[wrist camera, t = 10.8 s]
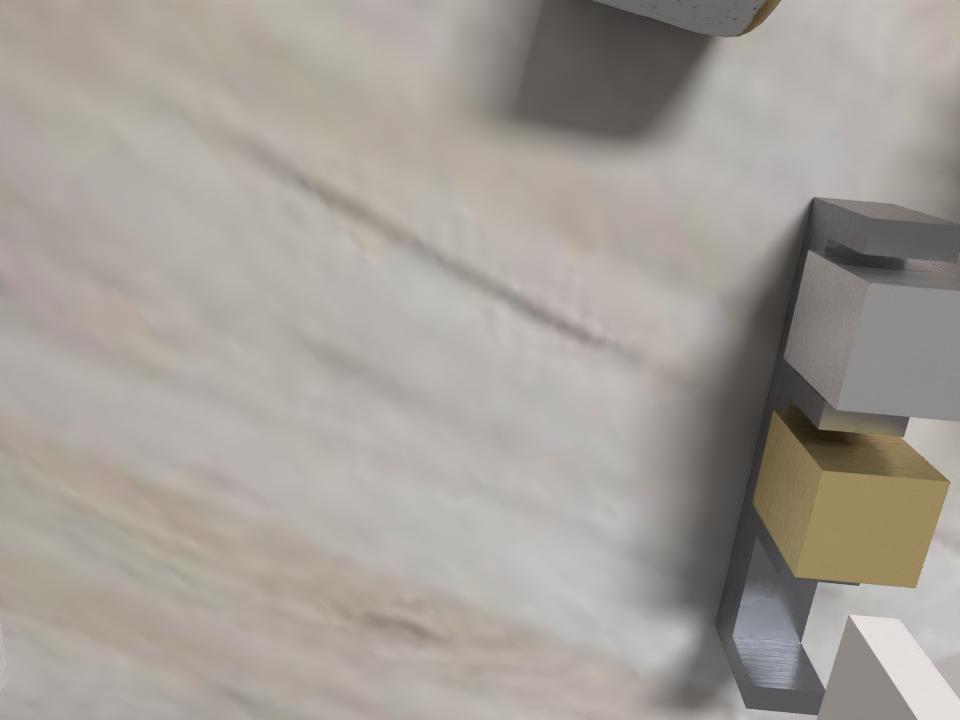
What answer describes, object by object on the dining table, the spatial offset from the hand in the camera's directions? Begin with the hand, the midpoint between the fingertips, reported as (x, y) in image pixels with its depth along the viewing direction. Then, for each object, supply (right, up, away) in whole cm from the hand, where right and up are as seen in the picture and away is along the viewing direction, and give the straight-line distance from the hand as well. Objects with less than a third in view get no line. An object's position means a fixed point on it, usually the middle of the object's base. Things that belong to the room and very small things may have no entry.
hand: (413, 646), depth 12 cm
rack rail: (+17, 0, +27) cm, 32 cm away
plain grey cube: (+18, +7, +22) cm, 29 cm away
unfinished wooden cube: (+17, 0, +24) cm, 30 cm away
